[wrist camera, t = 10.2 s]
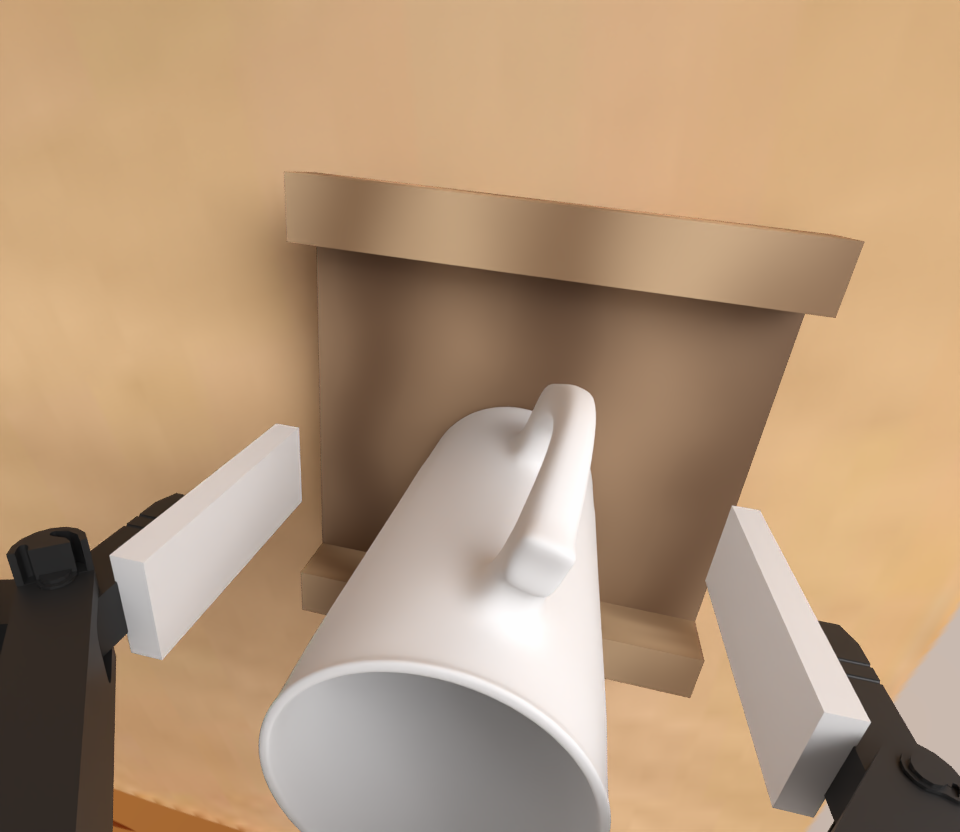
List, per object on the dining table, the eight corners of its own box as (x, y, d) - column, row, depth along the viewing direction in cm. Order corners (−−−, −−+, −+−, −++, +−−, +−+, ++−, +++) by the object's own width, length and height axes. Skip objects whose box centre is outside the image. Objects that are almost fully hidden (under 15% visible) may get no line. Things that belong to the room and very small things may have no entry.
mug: (552, 576, 22) (517, 948, 12) (403, 510, 22) (230, 817, 12) (680, 365, 18) (817, 642, 7) (495, 283, 18) (355, 436, 7)
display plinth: (345, 545, 27) (302, 609, 23) (346, 173, 20) (284, 171, 16) (673, 614, 25) (690, 698, 21) (802, 227, 18) (864, 241, 14)
